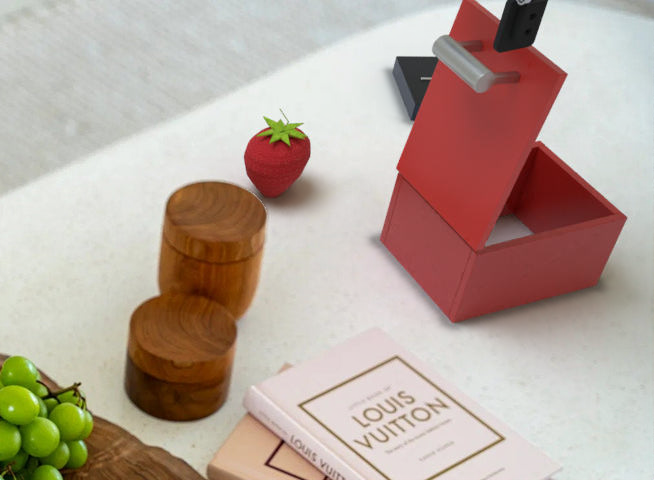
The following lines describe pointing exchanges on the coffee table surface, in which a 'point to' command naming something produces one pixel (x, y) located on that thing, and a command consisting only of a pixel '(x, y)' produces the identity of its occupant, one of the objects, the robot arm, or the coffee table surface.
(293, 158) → the strawberry
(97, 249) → the coffee table surface
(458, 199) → the hatch
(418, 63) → the panel
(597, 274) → the red open box
